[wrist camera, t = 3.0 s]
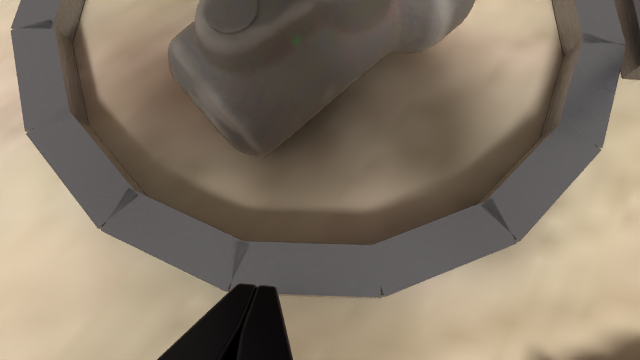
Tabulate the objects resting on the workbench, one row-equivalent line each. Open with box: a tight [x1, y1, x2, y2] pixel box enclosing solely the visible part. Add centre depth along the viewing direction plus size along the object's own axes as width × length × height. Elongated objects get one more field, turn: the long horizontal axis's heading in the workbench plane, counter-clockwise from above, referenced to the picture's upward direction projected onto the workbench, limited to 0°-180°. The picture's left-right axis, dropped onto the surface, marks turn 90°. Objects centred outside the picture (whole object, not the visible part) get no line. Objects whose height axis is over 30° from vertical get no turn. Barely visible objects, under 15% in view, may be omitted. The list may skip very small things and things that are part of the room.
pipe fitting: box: [168, 0, 475, 156], centre depth 15 cm, size 12×8×10 cm
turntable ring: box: [11, 0, 626, 298], centre depth 20 cm, size 30×30×2 cm
